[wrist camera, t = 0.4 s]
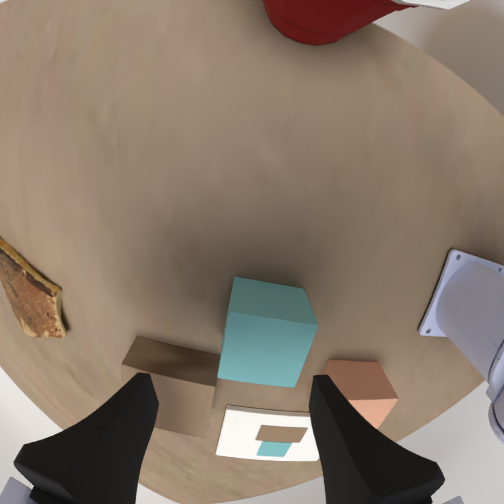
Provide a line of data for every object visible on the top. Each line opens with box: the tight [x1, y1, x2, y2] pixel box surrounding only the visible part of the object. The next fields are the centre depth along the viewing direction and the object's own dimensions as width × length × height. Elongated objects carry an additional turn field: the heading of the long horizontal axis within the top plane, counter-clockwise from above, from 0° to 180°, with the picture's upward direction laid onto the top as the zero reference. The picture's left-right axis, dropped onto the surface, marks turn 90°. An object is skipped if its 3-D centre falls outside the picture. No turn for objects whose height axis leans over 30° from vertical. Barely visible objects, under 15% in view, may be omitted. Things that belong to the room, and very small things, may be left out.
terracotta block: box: [322, 359, 398, 429], centre depth 21 cm, size 5×5×5 cm
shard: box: [0, 239, 67, 338], centre depth 20 cm, size 11×8×2 cm
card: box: [216, 405, 319, 461], centre depth 25 cm, size 12×9×1 cm
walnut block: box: [121, 336, 220, 438], centre depth 21 cm, size 7×7×4 cm
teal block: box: [217, 276, 318, 388], centre depth 18 cm, size 5×5×5 cm
